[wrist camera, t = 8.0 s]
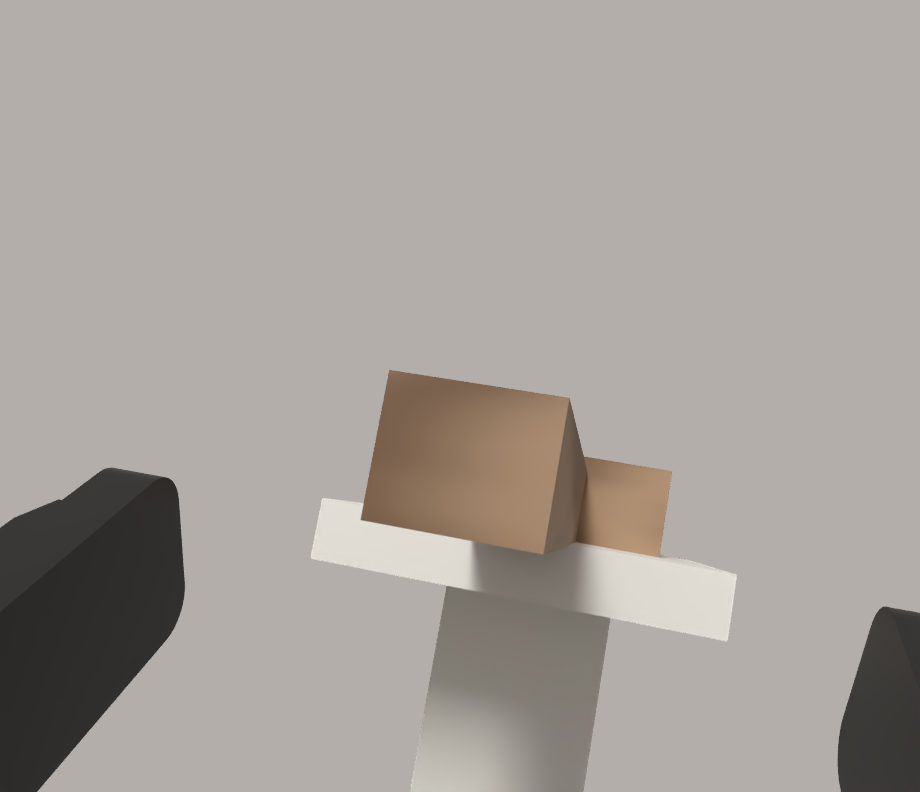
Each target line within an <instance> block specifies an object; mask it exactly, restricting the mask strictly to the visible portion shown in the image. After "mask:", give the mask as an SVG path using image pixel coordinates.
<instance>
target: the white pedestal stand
mask: <svg viewBox="0 0 920 792" xmlns="http://www.w3.org/2000/svg"><path fill="white" fill-rule="evenodd" d="M363 504H364V503H359V502H351V501H343V500H335V499H327V498H322V502H321V508H320V513H319V517H318V523H317V528H316V533H315V538H314V543H313V548H312V553H311V559H316V560H321V561H326V562H331V563H337V564H341V565H346V566H352V567H356V568H362V569H367V570H371V571H377V572H381V573H386V574H391V575H396V576H402V577H407V578H412V579H417V580H422V581H427V582H432V583H437V584H442V585H447V587H446V593H445V598H444V604H443V610H442V616H441V621H440V627H439V632H438V638H437V643H436V649H435V655H434V660H433V666H432V671H431V677H430V682H429V688H428V693H427V699H426V705H425V710H424V716H423V721H422V727H421V732H420V738H419V744H418V749H417V755H416V761H415V766H414V772H413V777H412V783H411V788H410V792H583V791H584V784H585V777H586V771H587V764H588V758H589V752H590V746H591V739H592V733H593V726H594V720H595V713H596V707H597V700H598V694H599V688H600V681H601V675H602V669H603V662H604V656H605V649H606V643H607V636H608V629H609V623H610V618H612V619H617V620H623V621H627V622H633V623H638V624H643V625H648V626H653V627H658V628H663V629H668V630H673V631H678V632H683V633H688V634H693V635H698V636H703V637H709V638H713V639H718V640H723V641H728V635H729V628H730V621H731V614H732V607H733V599H734V592H735V585H736V578H737V575H735V574H732V573H730V572H726V571H723V570H720V569H717V568H714V567H711V566H707V565H704V564H701V563H698V562H695V561H690V560H685V559H680V558H674V557H669V556H664V555H659V557H653V556H648V555H643V554H637V553H632V552H626V551H621V550H616V549H610V548H605V547H599V546H594V545H588V544H583V543H578V542H575V543H572V544H570V545H567V546H565V547H562V548H559V549H557V550H554V551H551V552H549V553H546V554H544V555H543V554H538V553H532V552H527V551H522V550H516V549H511V548H506V547H500V546H495V545H490V544H485V543H479V542H474V541H469V540H463V539H458V538H453V537H447V536H442V535H437V534H432V533H426V532H421V531H416V530H410V529H405V528H400V527H394V526H389V525H384V524H379V523H373V522H368V521H363V520H361V515H362V510H363Z"/></svg>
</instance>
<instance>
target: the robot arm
mask: <svg viewBox="0 0 920 792" xmlns="http://www.w3.org/2000/svg"><path fill="white" fill-rule="evenodd" d="M184 592H185V581H184V567H183V554H182V538H181V525H180V510H179V498H178V492H177V488H176V486H175V484H174V483H173V481H172V480H170V479H169V478H165V477H160V476H155V475H149V474H144V473H138V472H132V471H128V470H122V469H116V468H107V469H104V470H102V471H100V472H99V473H97V474H96V475H95V476H93V477H92V478H91V479H90V480H88V481H87V482H86V483H84V484H83V485H82V486H80V487H79V488H78V489H76V490H75V491H74V492H72V493H71V494H70V495H68V496H67V497H66V498H64V499H63V500H56V501H54V502H52V503H49V504H47V505H44V506H42V507H39V508H37V509H35V510H32V511H30V512H27V513H25V514H22V515H20V516H18V517H15V518H13V519H12V520H10V521H9V522H8V523H6V524H5V525H4V526H2V527H1V528H0V792H37V791H38V790H39V789H40V788H41V786H42V785H43V784H44V783H45V782H46V781H47V779H48V778H49V777H50V776H51V775H52V773H53V772H54V771H55V770H56V769H57V768H58V767H59V765H60V764H61V763H62V762H63V761H64V759H65V758H66V757H67V756H68V755H69V754H70V752H71V751H72V750H73V749H74V748H75V747H76V745H77V744H78V743H79V742H80V741H81V739H82V738H83V737H84V736H85V735H86V734H87V732H88V731H89V730H90V729H91V728H92V727H93V725H94V724H95V723H96V722H97V721H98V720H99V718H100V717H101V716H102V715H103V714H104V712H105V711H106V710H107V709H108V707H110V705H111V704H112V703H113V702H114V701H115V700H116V698H117V697H118V696H119V695H120V694H121V693H122V691H123V690H124V689H125V688H126V687H127V686H128V684H129V683H130V682H131V681H132V680H133V678H134V677H135V676H136V675H137V673H139V671H140V670H141V669H142V668H143V667H144V666H145V664H146V663H147V662H148V660H150V659H151V657H152V656H153V655H154V654H155V653H156V651H157V650H158V649H159V648H160V647H161V646H162V644H163V643H164V642H165V641H166V640H167V638H168V637H169V636H170V634H171V632H172V631H173V629H174V627H175V625H176V623H177V621H178V618H179V615H180V612H181V609H182V605H183V600H184ZM838 775H839V783H840V788H841V792H920V613H917V612H912V611H906V610H901V609H895V608H890V607H882V608H881V609H880V610H879V611H878V612H877V614H876V615H875V617H874V620H873V622H872V625H871V628H870V631H869V635H868V638H867V641H866V645H865V648H864V651H863V654H862V658H861V661H860V664H859V667H858V671H857V674H856V677H855V680H854V684H853V687H852V690H851V693H850V697H849V700H848V703H847V707H846V710H845V713H844V716H843V720H842V724H841V729H840V736H839V744H838Z"/></svg>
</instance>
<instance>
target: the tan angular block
mask: <svg viewBox="0 0 920 792" xmlns="http://www.w3.org/2000/svg"><path fill="white" fill-rule="evenodd" d="M671 475H672V472H671V471H666V470H661V469H655V468H649V467H642V466H636V465H631V464H624V463H619V462H613V461H607V460H601V459H595V458H588V457H584V456H583V452H582V448H581V444H580V439H579V435H578V431H577V428H576V423H575V419H574V415H573V411H572V407H571V403H570V399H569V398H566V397H559V396H552V395H546V394H540V393H534V392H527V391H521V390H514V389H508V388H501V387H494V386H488V385H482V384H475V383H469V382H463V381H456V380H450V379H444V378H436V377H430V376H424V375H418V374H411V373H405V372H399V371H392V370H389V375H388V380H387V385H386V391H385V395H384V401H383V406H382V411H381V416H380V421H379V427H378V432H377V437H376V442H375V447H374V453H373V458H372V463H371V469H370V473H369V478H368V484H367V489H366V494H365V500H364V504H363V510H362V515H361V520H363V521H368V522H373V523H379V524H384V525H389V526H394V527H400V528H405V529H410V530H416V531H421V532H426V533H432V534H437V535H442V536H447V537H453V538H458V539H463V540H469V541H474V542H479V543H485V544H490V545H495V546H500V547H506V548H511V549H516V550H522V551H527V552H532V553H538V554H543V555H544V554H546V553H549V552H551V551H554V550H557V549H559V548H562V547H565V546H567V545H570V544H572V543H575V542H578V543H583V544H588V545H594V546H599V547H605V548H610V549H616V550H621V551H626V552H632V553H637V554H643V555H648V556H653V557H659V555H660V548H661V542H662V535H663V529H664V522H665V515H666V509H667V502H668V495H669V489H670V482H671Z"/></svg>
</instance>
